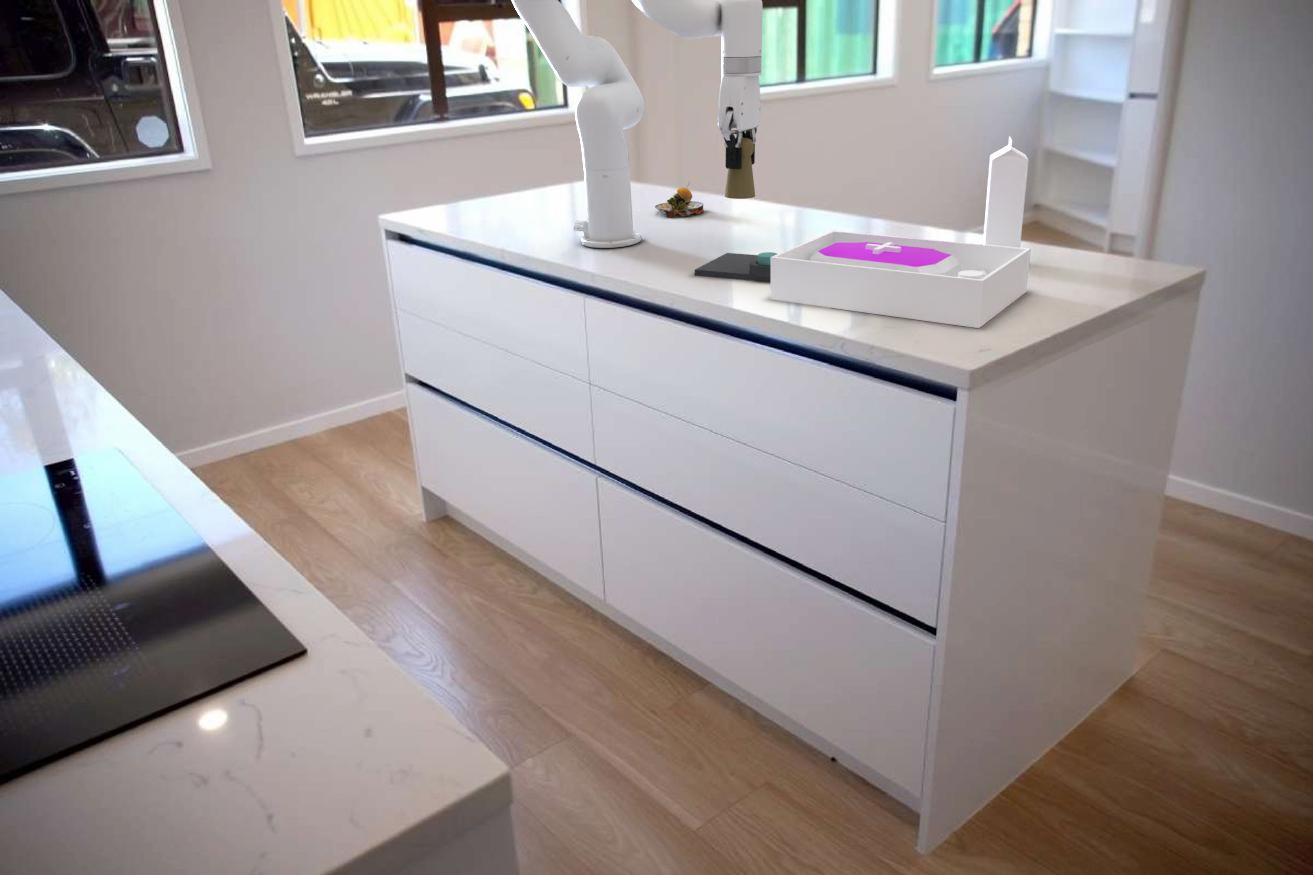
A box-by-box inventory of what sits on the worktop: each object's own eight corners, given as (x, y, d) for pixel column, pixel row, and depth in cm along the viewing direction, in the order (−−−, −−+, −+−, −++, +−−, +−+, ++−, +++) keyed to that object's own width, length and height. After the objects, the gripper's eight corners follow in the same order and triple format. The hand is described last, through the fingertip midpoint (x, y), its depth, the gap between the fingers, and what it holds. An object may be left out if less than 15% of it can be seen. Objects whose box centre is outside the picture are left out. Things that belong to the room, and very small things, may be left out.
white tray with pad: (978, 328, 146) (983, 279, 143) (770, 299, 165) (770, 255, 162) (1026, 291, 162) (1030, 247, 160) (831, 269, 182) (832, 229, 179)
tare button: (754, 265, 176) (754, 256, 176) (762, 261, 179) (762, 251, 179) (773, 267, 175) (773, 257, 174) (781, 262, 178) (781, 253, 177)
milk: (982, 268, 178) (992, 141, 169) (981, 260, 183) (990, 136, 174) (1019, 269, 176) (1030, 140, 167) (1016, 260, 181) (1027, 135, 173)
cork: (753, 199, 192) (754, 140, 188) (722, 198, 194) (722, 140, 189) (757, 193, 198) (757, 136, 193) (726, 193, 199) (727, 136, 195)
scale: (692, 277, 182) (692, 260, 180) (727, 258, 193) (726, 243, 192) (777, 284, 174) (777, 267, 173) (808, 265, 186) (808, 249, 184)
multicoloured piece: (673, 206, 246) (672, 176, 243) (713, 210, 240) (713, 178, 237) (644, 215, 237) (643, 183, 235) (685, 219, 231) (684, 186, 228)
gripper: (741, 64, 195) (740, 159, 202) (702, 70, 181) (703, 172, 188) (777, 64, 191) (775, 161, 199) (740, 70, 178) (739, 174, 185)
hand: (740, 165), depth 193 cm, fingers closed on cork, 5 cm apart
